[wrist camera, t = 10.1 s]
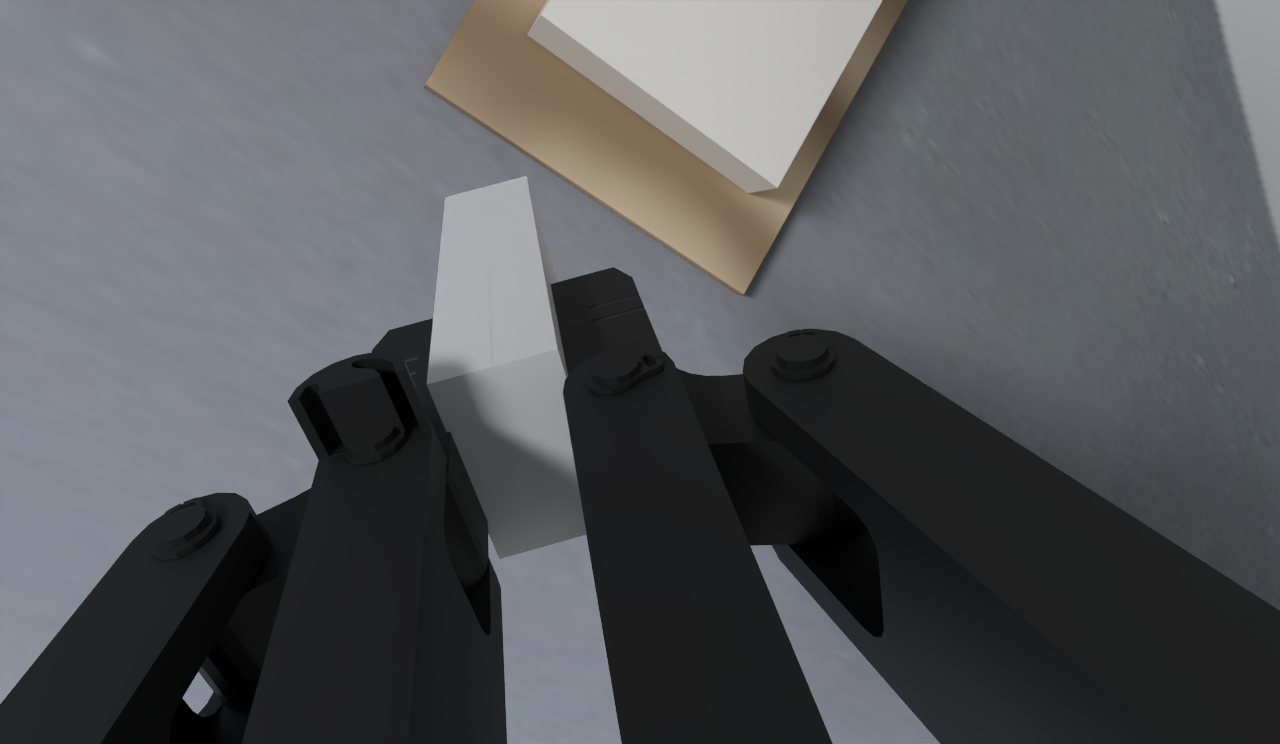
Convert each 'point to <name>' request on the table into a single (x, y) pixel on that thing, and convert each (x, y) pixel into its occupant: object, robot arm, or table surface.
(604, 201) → the mat
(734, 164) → the tile
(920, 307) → the table surface
